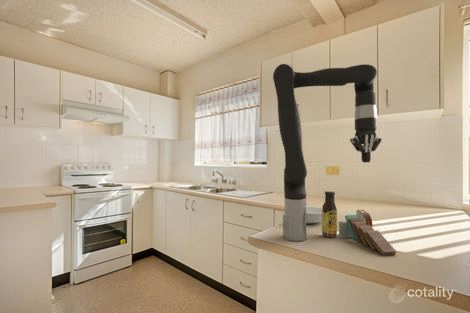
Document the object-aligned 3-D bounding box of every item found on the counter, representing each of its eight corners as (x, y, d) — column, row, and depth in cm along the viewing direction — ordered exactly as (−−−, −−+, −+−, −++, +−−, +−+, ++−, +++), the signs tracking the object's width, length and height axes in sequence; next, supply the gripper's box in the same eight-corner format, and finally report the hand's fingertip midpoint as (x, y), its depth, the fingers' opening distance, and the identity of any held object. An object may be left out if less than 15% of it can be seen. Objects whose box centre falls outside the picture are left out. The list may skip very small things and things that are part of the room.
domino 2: (371, 240, 93) (360, 217, 100) (360, 240, 92) (349, 218, 99) (369, 241, 94) (358, 219, 101) (358, 242, 94) (348, 219, 100)
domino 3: (378, 243, 89) (365, 221, 97) (367, 244, 88) (354, 222, 96) (377, 245, 90) (363, 224, 98) (365, 246, 89) (352, 224, 97)
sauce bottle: (330, 239, 97) (329, 192, 98) (318, 235, 103) (318, 191, 103) (340, 236, 100) (340, 191, 101) (328, 232, 106) (328, 190, 106)
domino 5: (396, 251, 81) (377, 230, 89) (383, 252, 80) (366, 230, 89) (394, 254, 81) (376, 233, 90) (382, 255, 81) (364, 233, 90)
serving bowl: (331, 227, 114) (331, 214, 114) (288, 226, 117) (288, 212, 117) (322, 217, 135) (322, 205, 135) (286, 216, 138) (285, 204, 138)
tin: (373, 233, 106) (373, 214, 106) (365, 232, 106) (365, 214, 106) (362, 224, 120) (361, 208, 121) (355, 223, 121) (355, 208, 121)
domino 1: (365, 237, 96) (356, 214, 102) (354, 238, 96) (346, 215, 101) (363, 238, 98) (354, 216, 103) (352, 239, 97) (344, 216, 103)
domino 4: (386, 247, 85) (370, 225, 93) (374, 247, 84) (359, 226, 93) (385, 249, 86) (369, 228, 94) (372, 250, 85) (358, 228, 94)
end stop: (361, 235, 102) (361, 222, 102) (342, 236, 101) (342, 222, 101) (357, 233, 105) (357, 220, 105) (339, 234, 104) (338, 221, 104)
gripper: (372, 120, 94) (372, 162, 94) (344, 119, 91) (344, 162, 91) (387, 117, 87) (388, 162, 86) (357, 115, 84) (358, 162, 84)
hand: (366, 162), depth 89 cm, fingers closed
